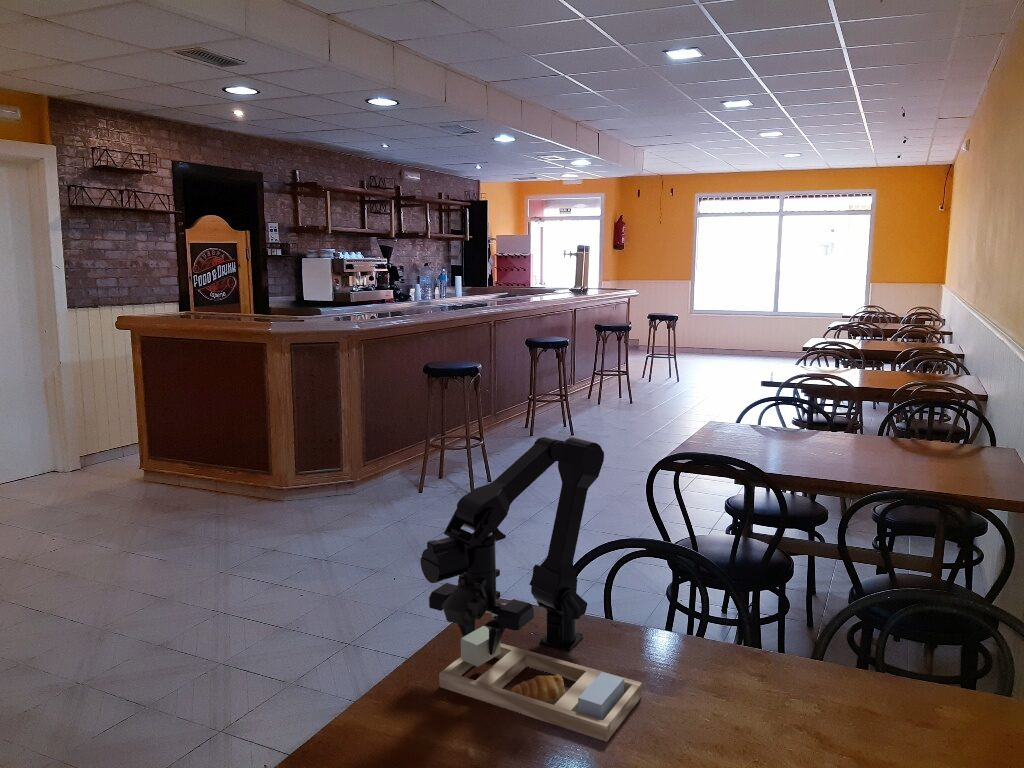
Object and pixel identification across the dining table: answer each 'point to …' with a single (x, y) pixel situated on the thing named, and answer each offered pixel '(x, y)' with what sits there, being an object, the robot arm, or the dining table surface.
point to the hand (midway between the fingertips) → (481, 650)
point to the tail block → (477, 647)
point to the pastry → (542, 688)
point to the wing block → (601, 696)
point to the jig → (558, 714)
